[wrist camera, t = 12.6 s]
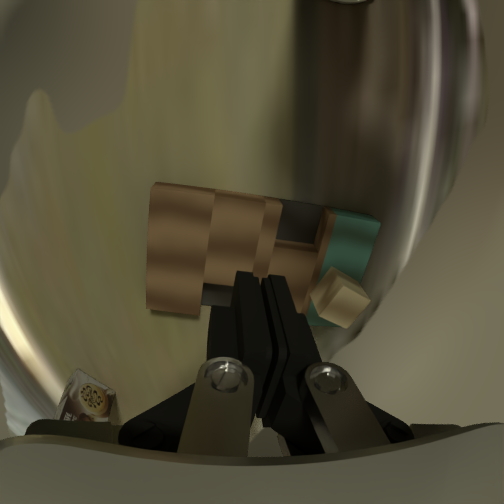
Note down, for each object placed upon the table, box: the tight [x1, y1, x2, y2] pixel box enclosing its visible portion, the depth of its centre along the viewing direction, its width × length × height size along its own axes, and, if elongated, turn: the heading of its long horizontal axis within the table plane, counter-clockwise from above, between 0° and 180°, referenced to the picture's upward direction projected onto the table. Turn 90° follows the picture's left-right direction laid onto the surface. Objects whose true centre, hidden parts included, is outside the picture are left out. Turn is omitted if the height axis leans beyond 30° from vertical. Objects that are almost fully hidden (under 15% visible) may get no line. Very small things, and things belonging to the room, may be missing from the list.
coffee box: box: [54, 369, 115, 422], centre depth 45 cm, size 9×6×16 cm
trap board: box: [146, 182, 381, 327], centre depth 42 cm, size 17×29×3 cm, turn 80°
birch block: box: [310, 266, 371, 329], centre depth 40 cm, size 5×5×5 cm
